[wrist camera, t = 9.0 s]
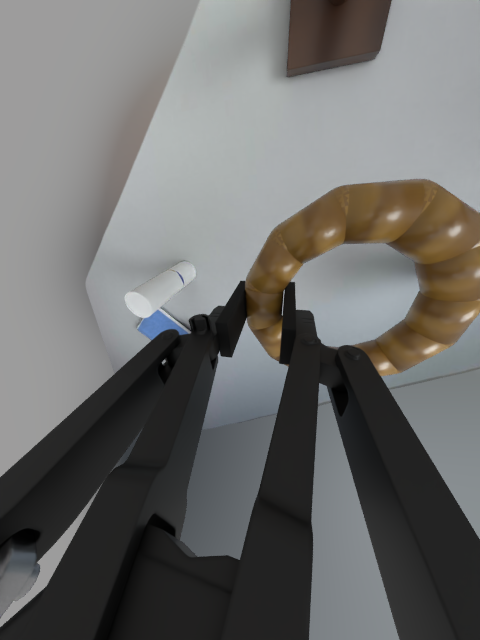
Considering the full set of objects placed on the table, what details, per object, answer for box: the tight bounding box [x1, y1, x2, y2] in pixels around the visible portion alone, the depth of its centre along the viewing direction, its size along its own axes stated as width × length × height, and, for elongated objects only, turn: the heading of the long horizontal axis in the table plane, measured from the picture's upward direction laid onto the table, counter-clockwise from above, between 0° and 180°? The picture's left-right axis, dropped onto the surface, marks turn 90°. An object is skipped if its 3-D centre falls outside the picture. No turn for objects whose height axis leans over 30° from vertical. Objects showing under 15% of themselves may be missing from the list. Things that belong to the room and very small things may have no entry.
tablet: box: [137, 308, 191, 340], centre depth 50 cm, size 19×13×1 cm, turn 49°
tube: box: [125, 261, 196, 318], centre depth 32 cm, size 4×4×15 cm
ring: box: [245, 179, 480, 376], centre depth 14 cm, size 15×15×3 cm
